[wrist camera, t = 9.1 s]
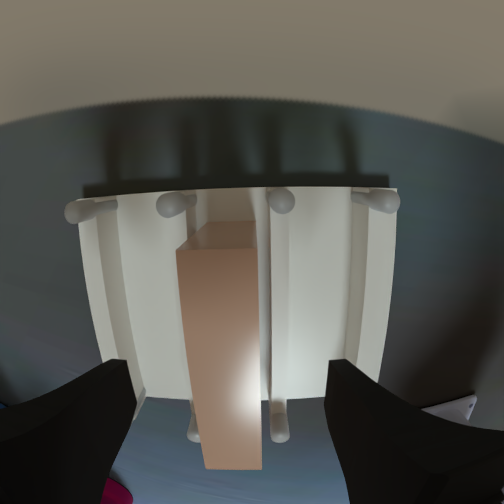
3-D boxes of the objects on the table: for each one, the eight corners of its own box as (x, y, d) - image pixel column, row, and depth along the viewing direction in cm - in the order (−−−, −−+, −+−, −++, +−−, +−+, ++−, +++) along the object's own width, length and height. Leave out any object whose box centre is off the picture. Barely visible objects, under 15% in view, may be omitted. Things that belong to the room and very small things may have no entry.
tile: (259, 384, 19) (261, 469, 12) (219, 384, 19) (206, 468, 12) (255, 220, 16) (257, 248, 10) (207, 221, 16) (175, 250, 10)
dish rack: (371, 382, 20) (395, 427, 15) (116, 384, 20) (89, 427, 15) (389, 188, 17) (433, 191, 12) (84, 198, 17) (36, 205, 12)
